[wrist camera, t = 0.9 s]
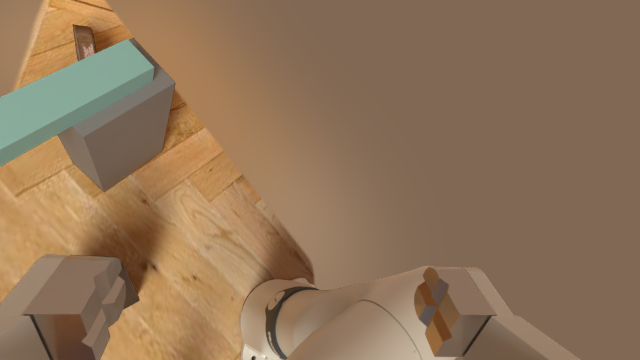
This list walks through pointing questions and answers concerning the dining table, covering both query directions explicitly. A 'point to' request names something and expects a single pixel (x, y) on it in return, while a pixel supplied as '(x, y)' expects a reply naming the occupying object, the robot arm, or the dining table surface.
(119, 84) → the mint green bar
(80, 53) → the tin
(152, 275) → the dining table surface
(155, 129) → the stand
